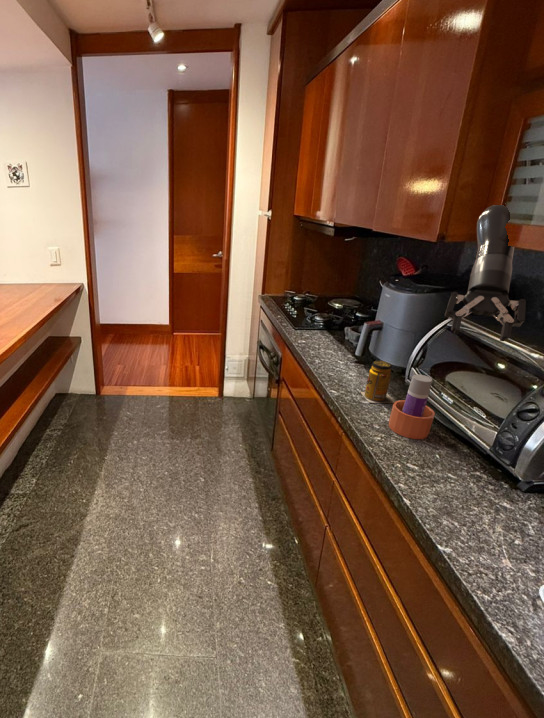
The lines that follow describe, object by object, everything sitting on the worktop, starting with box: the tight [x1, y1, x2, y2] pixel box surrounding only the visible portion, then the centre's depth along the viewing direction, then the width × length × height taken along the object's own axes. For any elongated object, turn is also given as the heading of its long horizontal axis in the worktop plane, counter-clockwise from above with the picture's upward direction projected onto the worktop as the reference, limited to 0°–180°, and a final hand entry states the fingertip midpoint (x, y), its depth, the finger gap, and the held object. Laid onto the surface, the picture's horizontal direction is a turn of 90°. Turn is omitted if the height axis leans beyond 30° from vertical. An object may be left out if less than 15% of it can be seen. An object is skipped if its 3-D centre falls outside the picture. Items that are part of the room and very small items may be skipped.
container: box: [402, 374, 433, 417], centre depth 105 cm, size 5×5×15 cm
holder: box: [388, 399, 436, 440], centre depth 106 cm, size 10×10×6 cm
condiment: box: [360, 360, 396, 404], centre depth 122 cm, size 7×8×12 cm
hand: (479, 336), depth 88 cm, fingers open, 8 cm apart
